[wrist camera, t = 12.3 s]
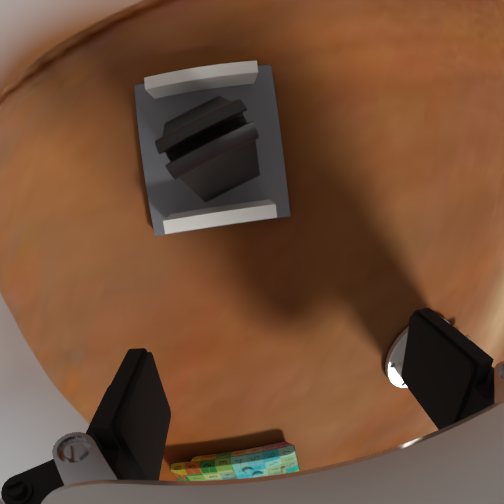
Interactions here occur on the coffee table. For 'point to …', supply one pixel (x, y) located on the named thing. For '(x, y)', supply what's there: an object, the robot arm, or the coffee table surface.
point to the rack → (258, 110)
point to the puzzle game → (239, 464)
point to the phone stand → (211, 147)
